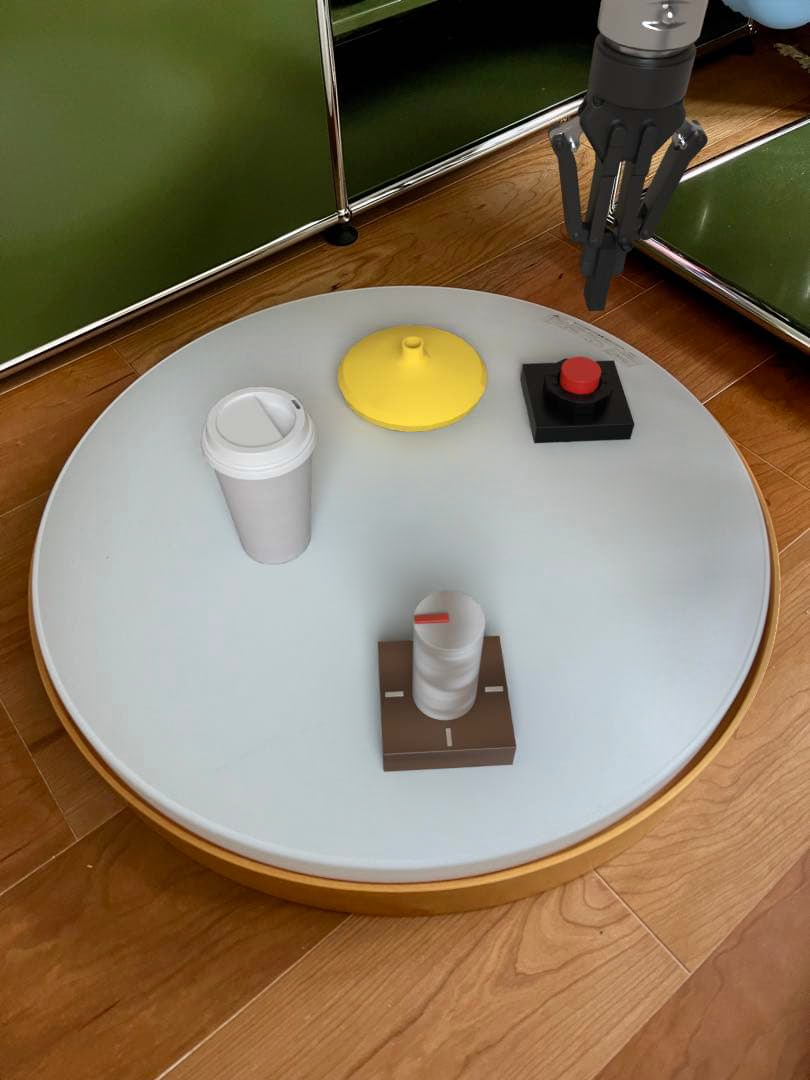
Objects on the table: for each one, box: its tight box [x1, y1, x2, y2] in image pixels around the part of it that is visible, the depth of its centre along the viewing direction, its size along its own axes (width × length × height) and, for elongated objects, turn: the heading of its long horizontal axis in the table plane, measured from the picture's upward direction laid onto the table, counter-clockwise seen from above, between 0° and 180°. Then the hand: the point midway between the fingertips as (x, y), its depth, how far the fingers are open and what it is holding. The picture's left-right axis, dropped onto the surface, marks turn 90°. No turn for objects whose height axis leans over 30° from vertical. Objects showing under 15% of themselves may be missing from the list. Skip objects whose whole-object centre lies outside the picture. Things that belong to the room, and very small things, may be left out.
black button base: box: [519, 357, 635, 444], centre depth 94 cm, size 10×10×4 cm
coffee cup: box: [200, 386, 318, 565], centre depth 78 cm, size 10×10×15 cm
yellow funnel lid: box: [337, 324, 488, 433], centre depth 94 cm, size 16×16×7 cm
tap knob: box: [412, 590, 486, 720], centre depth 66 cm, size 5×5×10 cm
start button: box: [559, 356, 601, 395], centre depth 92 cm, size 4×4×2 cm
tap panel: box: [377, 635, 517, 773], centre depth 71 cm, size 10×10×3 cm
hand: (593, 302), depth 85 cm, fingers closed
